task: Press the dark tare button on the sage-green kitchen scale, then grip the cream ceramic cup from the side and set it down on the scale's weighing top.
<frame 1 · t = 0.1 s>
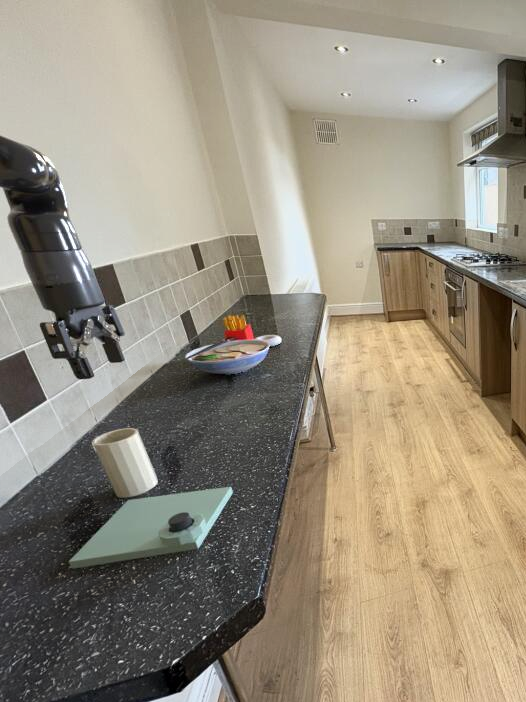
hand: (102, 369, 74), 21 cm above the countertop, tool pointing down, fingers open, 8 cm apart
ramen bowl: (235, 371, 133), on the countertop
cup: (137, 487, 76), on the countertop
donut: (268, 346, 158), on the countertop
scale: (162, 526, 67), on the countertop
tare button: (180, 522, 63), point 4 cm above the countertop, slide at 0.1 cm
french fries container: (244, 355, 148), on the countertop
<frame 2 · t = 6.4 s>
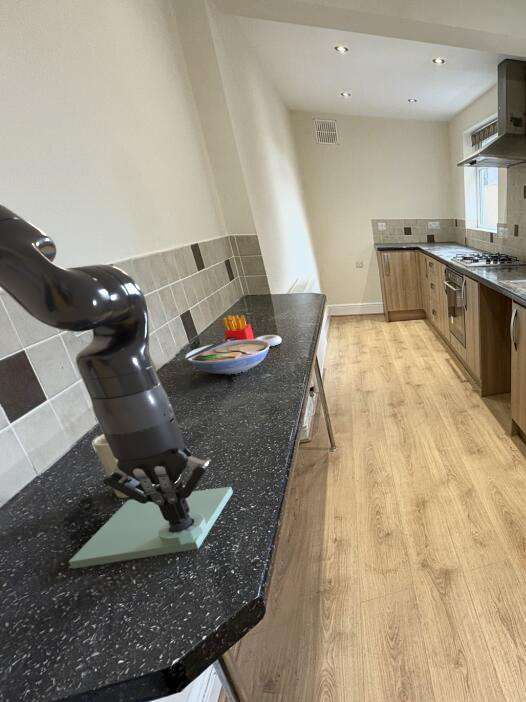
hand: (179, 519, 62), 4 cm above the countertop, tool pointing down, fingers closed
tare button: (181, 523, 63), point 3 cm above the countertop, slide at -0.1 cm, touching gripper
everything else where it was.
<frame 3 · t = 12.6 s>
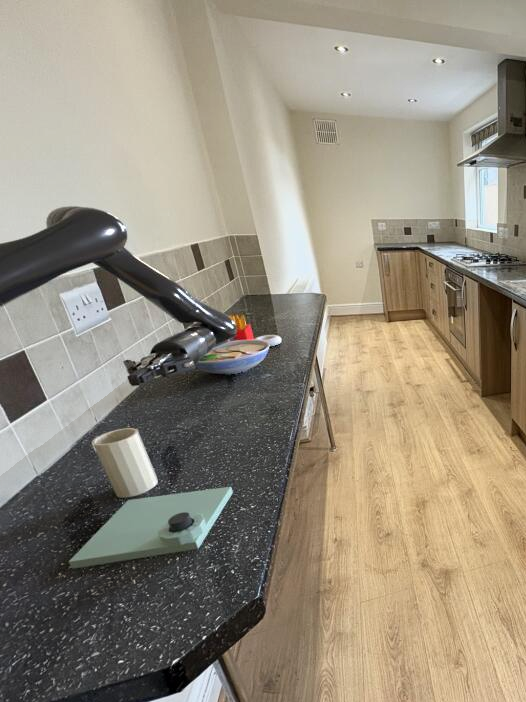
hand: (134, 381, 78), 18 cm above the countertop, tool horizontal, fingers closed
tare button: (180, 522, 63), point 4 cm above the countertop, slide at 0.1 cm
everything else where it was.
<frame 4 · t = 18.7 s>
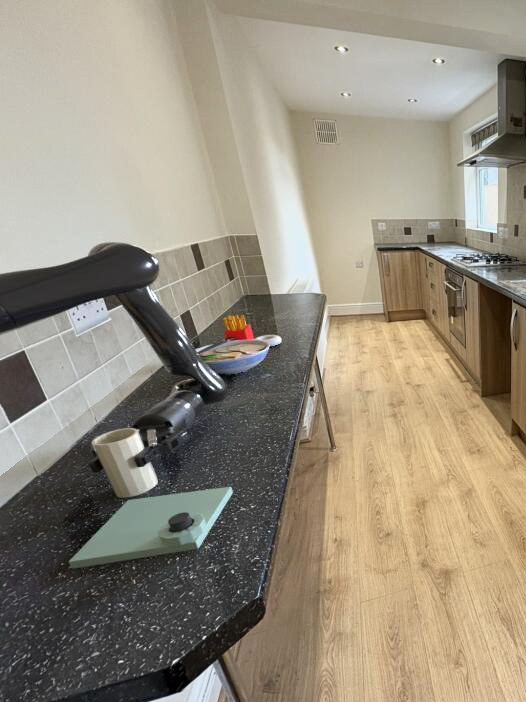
hand: (116, 465, 72), 7 cm above the countertop, tool horizontal, fingers closed on cup, 6 cm apart
cup: (137, 487, 76), on the countertop, touching gripper
everything else where it was.
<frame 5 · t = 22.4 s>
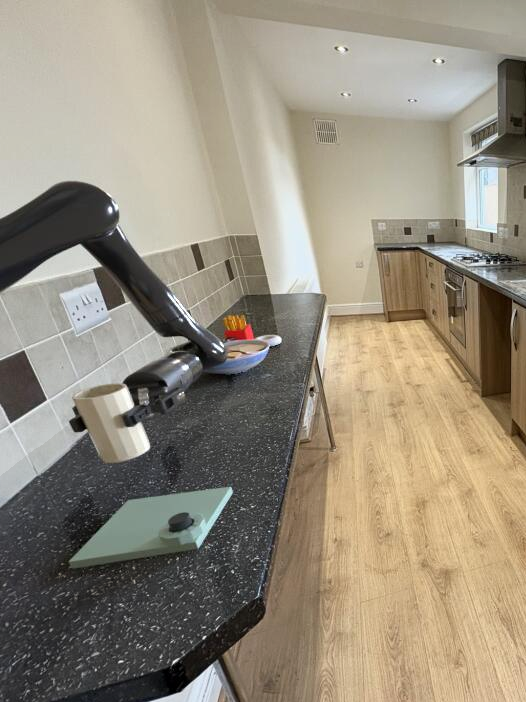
hand: (101, 424, 62), 18 cm above the countertop, tool horizontal, fingers closed on cup, 6 cm apart
cup: (126, 452, 66), point 11 cm above the countertop, touching gripper
everything else where it was.
when the fingers open (8 cm above the countertop, at t = 26.4 s): cup stays where it is, resting on scale.
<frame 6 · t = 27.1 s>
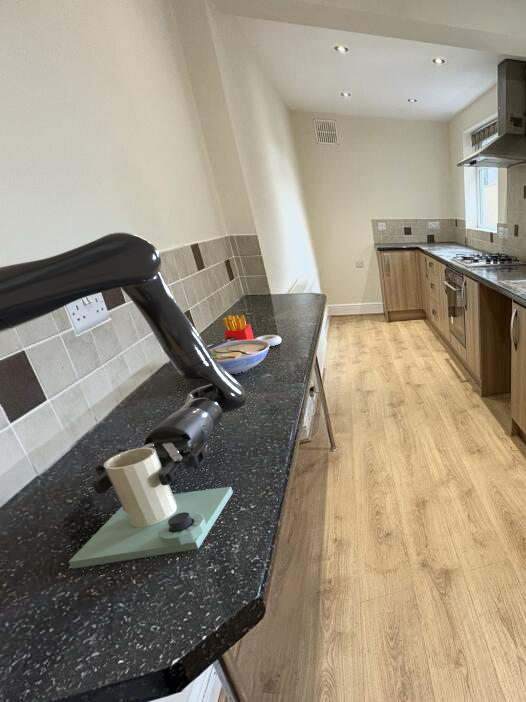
hand: (130, 484, 63), 9 cm above the countertop, tool horizontal, fingers open, 8 cm apart
cup: (154, 514, 67), point 1 cm above the countertop, touching scale
everything else where it was.
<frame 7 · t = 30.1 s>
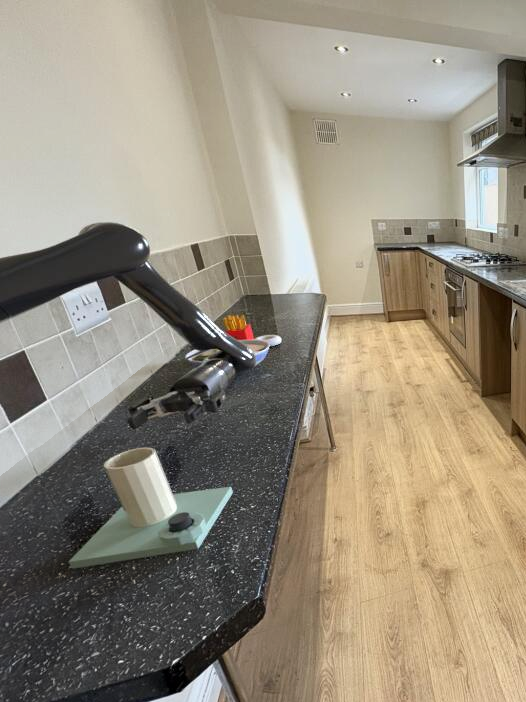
hand: (160, 421, 72), 13 cm above the countertop, tool horizontal, fingers open, 8 cm apart
nothing on the countertop moved.
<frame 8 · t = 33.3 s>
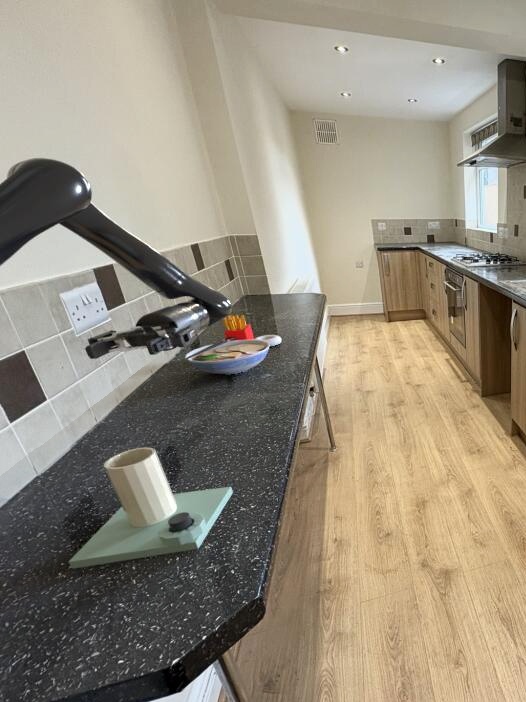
hand: (120, 351, 68), 26 cm above the countertop, tool horizontal, fingers open, 8 cm apart
nothing on the countertop moved.
at the end: tare button pushed in 0.9 cm at the most during the clip, back to where it started at the end; cup inside the target area on the scale (0.1 cm from its centre), point 1.4 cm above the scale's base; cup tilted 0° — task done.
